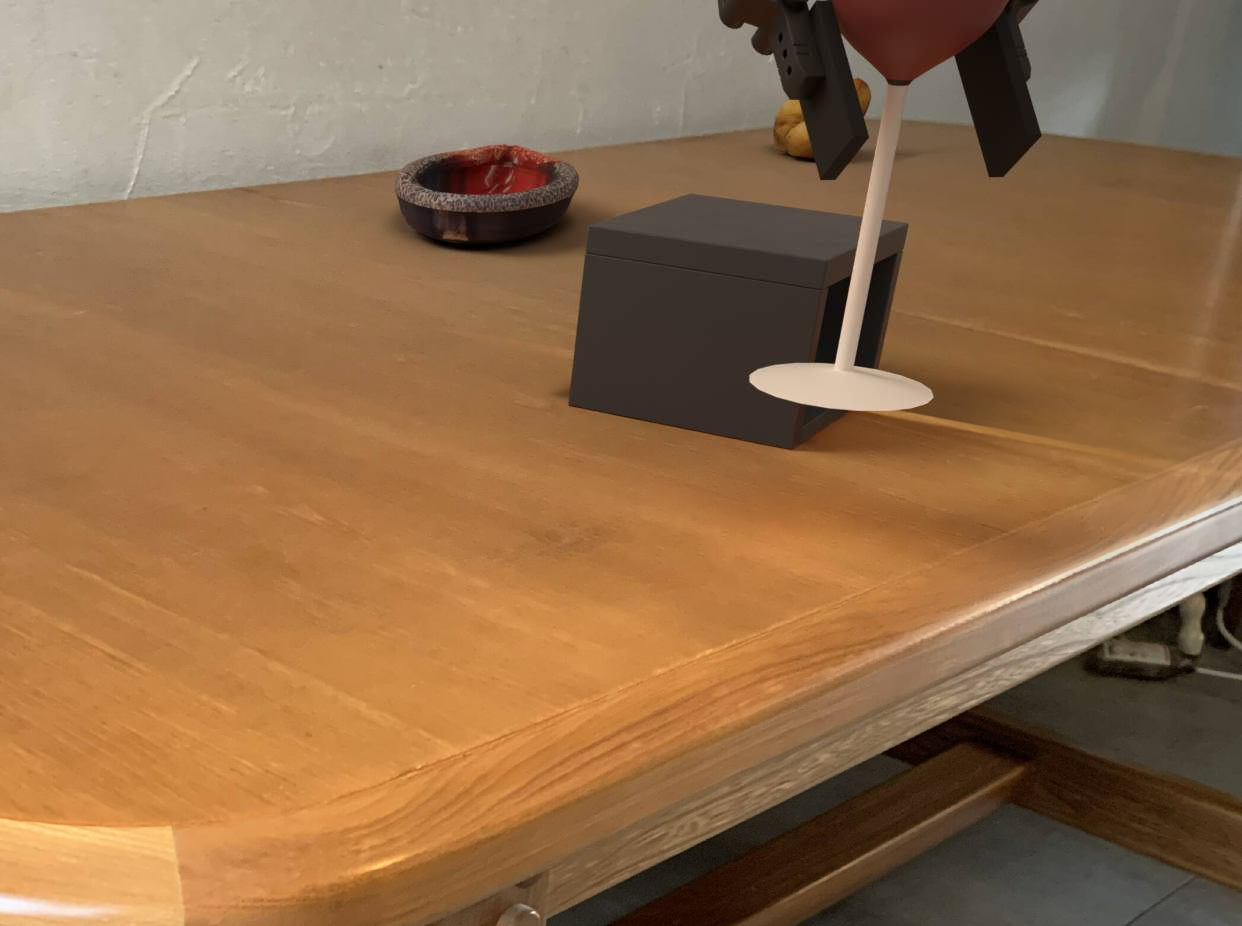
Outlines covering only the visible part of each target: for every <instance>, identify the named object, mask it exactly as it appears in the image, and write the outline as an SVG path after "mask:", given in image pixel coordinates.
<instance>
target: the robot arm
mask: <svg viewBox="0 0 1242 926" xmlns="http://www.w3.org/2000/svg"><path fill="white" fill-rule="evenodd" d="M808 2H809V0H717V9H718V17H719V20H720V21H721V23H722V24H723V25H724V26H725V27H727V28H728V29H731V30H738V29H740V28H742V27H743V26H744V24H747V25H750V26H753V27H756V28H757V29H756V30H755V31H754V33H753V35H752V36H751V38H750V44H751V46H752V49H754V51H755V52H756V53H758V54H760V55H762V56H766V57H767V56H772V55H773V57H774V61H775V65H776V68H777V72H778V76H779V77H780V78H779V79H780V84H781V88H782V91H783V92H784V93H785V95H786V97H787V99H788V100H789V99H790V100H799V102H800V106H801V110H802V114H803V117H804V121H805V125H806V129H807V132H808V136H809V140H810V144H811V147H812V151H813V155H814V158H813V159H814V162H815V165H816V166H815V167H816V169H817V173H818V177H819V181H836V180H837V179H838V178H839V176H841V174H842V173H843V172H844V170H845V169H846V168H847V166H848V165H849V164H850V163H851V161H852V160H853V159H854V157H855V156H856V155H857V154H858V152H859V151H860V150H861V148H862V147H864V145H865V144H866V142H867V141H868V140H869V139H870V135H869V131H868V128H867V124H866V120H865V116H863V113H862V109H861V105H860V102H859V98H858V94H857V91H856V87H855V84H854V80H853V79H854V76H853V73H852V69H851V65H850V62H849V58H848V55H847V51H846V47H845V44H844V40H843V35H842V34H841V32H840V29H839V25H838V22H837V18H836V14H835V11H834V7H833V3H832V1H830V0H815V1H814V3H813V4H812V6H811V7H810V8H809V4H808ZM1038 2H1040V0H1009V1H1008V3H1007V4H1006V6H1005V8H1004V9H1003V11H1002V13H1001V14H1000V15H999V17H998V18H997V19H996V21H995V22H994V23H993V25H992V26H991V27H990V28H989V29H988V30H987V31H986V32H985V33H984V34H983V35H981V36H980V37H979V38H978V39H977V40H976V41H975V42H973V43H972V44H970V45H969V46H968V47H966V48H965V49H963V50H962V51H961V52H959V53H958V54H956V55H955V56H953V57H954V60H955V64H956V67H957V70H958V74H959V77H960V82H961V84H962V88H963V91H964V94H965V98H966V102H967V105H968V109H969V112H970V115H971V120H972V122H973V127H974V130H975V133H976V137H977V141H978V143H979V147H980V150H981V155H982V158H983V161H984V165H985V168H986V172H987V175H988V178H1005V176H1006V175H1007V174H1008V173H1009V172H1010V171H1011V170H1012V169H1013V167H1015V166H1016V164H1018V163H1019V161H1020V160H1021V159H1022V158H1023V157H1024V156H1025V154H1027V153H1028V152H1029V150H1030V149H1031V148H1032V147H1034V145H1035V144H1036V143H1037V142H1038V141H1039V140H1040V138H1042V136H1043V134H1042V131H1041V128H1040V124H1039V121H1038V117H1037V114H1036V111H1035V107H1034V105H1033V101H1032V97H1031V93H1030V90H1029V88H1028V87H1029V86H1028V84H1027V83H1028V81H1029V80H1030V79H1031V76H1032V75H1031V74H1032V65H1031V62H1030V58H1029V56H1028V52H1027V48H1026V45H1025V42H1024V39H1023V35H1022V32H1021V28H1020V24H1021V23H1022V21H1023V20H1024V19H1025V18H1026V17H1027V16H1028V15H1029V13H1030V12H1031V11H1032V10H1033V9H1034V7H1035V6H1036V5H1037V4H1038Z"/></svg>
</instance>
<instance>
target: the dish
mask: <svg viewBox="0 0 1242 926" xmlns="http://www.w3.org/2000/svg"><path fill="white" fill-rule="evenodd" d="M393 184H394V185H393V187H394V188H393V189H394V193H395V195H396V198H397V202H398V205H399V210H400V212H401V214H402V217H403V218H404V220H405V222H406V223H407V225H408V226H409V227H410V228H411V229H413V230H414V231H416V232H417V233H420V234H422V235H424V236H426V237H428V238H431V239H433V240H438V241H441V242H447V243H452V244H453V243H454V244H465V245H466V244H467V245H484V244H485V245H487V244H497V243H498V244H499V243H505V242H512V241H517V240H523V239H526V238H530V237H532V236H535V235H538V234H540V233H542V232H544V231H546V230H548V229H550V228H551V227H553V226H555V225H556V224H558V223H559V221H561V219H562V218H563V216H564V215H565V213H566V212H567V210H568V209H569V207H570V205H571V202H572V200H573V197H574V195H575V193H576V192H577V190H578V188H579V184H580V175H579V173H578V171H577V169H576V168H575V166H574V165H572V164H570V163H569V162H567V161H564V160H562V159H559V158H557V157H553V156H550V155H547V154H545V153H541V152H539V151H536V150H533V149H530V148H527V147H524V146H520V145H517V144H513V145H508V144H504V143H503V144H490V145H484V146H483V145H482V146H478V147H473V148H467V149H459V150H455V151H454V150H453V151H447V152H441V153H435V154H431V155H427V156H423V157H421V158H417V159H416V160H412V161H411V162H409V163H407V164H405V165H404V166H403V167H402V168H401V169H400V171H398V173H397V175H396V176H395V178H394V182H393Z"/></svg>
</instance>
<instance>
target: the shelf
mask: <svg viewBox="0 0 1242 926" xmlns="http://www.w3.org/2000/svg"><path fill="white" fill-rule="evenodd" d="M862 219H863V216H859V215H852V214H845V213H837V212H829V211H822V210H815V209H809V208H808V209H807V208H800V207H792V206H786V205H778V204H773V203H772V204H771V203H764V202H756V201H749V200H743V199H742V200H741V199H735V198H734V199H733V198H728V197H727V198H726V197H720V196H712V195H706V194H705V195H704V194H699V193H698V194H697V193H688V194H685V195H681V196H678V197H675V198H671V199H668V200H665V201H662V202H659V203H655V204H653V205H649V206H646V207H643V208H639V209H636V210H633V211H630V212H626V213H624V214H621V215H618V216H615V217H614V216H613V217H611V218H608V219H603V220H601V221H598V222H595V223H591V224H588V227H587V237H586V244H585V253H584V262H583V270H582V279H581V287H580V297H579V306H578V315H577V323H576V331H575V341H574V351H573V359H572V368H571V376H570V386H569V394H568V406H572V407H577V408H581V409H587V410H591V411H596V412H601V413H607V414H612V415H616V416H622V417H627V418H631V419H638V420H642V421H647V422H651V423H657V424H661V425H667V426H671V427H675V428H676V427H678V428H680V429H681V428H682V429H687V430H692V431H697V432H703V433H707V434H712V435H716V436H721V437H727V438H732V439H736V440H742V441H746V442H751V443H757V444H762V445H765V446H773V447H776V448H782V449H787V450H793V449H795V448H796V447H798V446H799V445H801V444H802V443H804V442H805V441H807V440H808V439H810V438H812V437H813V436H814V435H816V434H817V433H819V432H821V431H822V430H823V429H824V428H826V427H828V426H829V425H830V424H832V423H834V422H835V421H837V420H838V419H839V418H841V417H843V416H844V415H845V414H847V413H848V412H850V411H851V410H844V409H832V408H825V407H819V406H813V405H807V404H801V403H797V402H793V401H789V400H786V399H782V398H778V397H775V396H773V395H770V394H768V393H766V392H763V391H761V390H759V389H757V388H756V387H755V386H754V385H753V384H751V383H750V374H752V373H753V372H755V371H756V370H758V369H761V368H765V367H769V366H772V365H780V364H791V363H827V364H835V362H836V356H837V351H838V346H839V340H840V335H841V330H842V325H843V319H844V314H845V309H846V303H847V298H848V293H849V288H850V282H851V277H852V272H853V266H854V261H855V256H856V251H857V245H858V240H859V235H860V230H861V224H862ZM909 226H910V225H909V223H908V222H903V221H895V220H888V219H882V223H881V229H880V234H879V239H878V244H877V249H876V254H875V259H874V264H873V269H872V275H871V280H870V285H869V290H868V295H867V300H866V305H865V310H864V315H863V321H862V326H861V331H860V336H859V341H858V346H857V351H856V356H855V362H854V366H858V367H864V368H871V369H877V370H879V367H880V362H881V358H882V353H883V348H884V344H885V338H886V334H887V329H888V325H889V320H890V316H891V310H892V305H893V301H894V297H895V292H896V287H897V282H898V278H899V272H900V268H901V264H902V263H901V262H902V259H903V254H904V249H905V244H906V239H907V235H908V230H909Z"/></svg>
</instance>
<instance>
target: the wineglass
mask: <svg viewBox="0 0 1242 926" xmlns="http://www.w3.org/2000/svg"><path fill="white" fill-rule="evenodd" d="M830 1H832V3H833V7H834V11H835V14H836V18H837V22H838V25H839V29H840V32H841V36H842V38H844V39H845V40H846V41H847V42H848V44H849V45H850V46H851V47H852V48H853V49H854V50H855V51H856V52H857V54H859V55H860V56H861V57H862V58H864V60H866V61H867V62H868V63H869V64H870V65H871V66H872V67H873V68H874V69H875V70H876V71H877V72H878V73H880V75H881V76H882V77H884V79H885V81H886V83H887V87H886V92H885V99H884V103H883V108H882V114H881V118H880V119H881V120H880V125H879V131H878V134H877V140H876V144H875V152H874V155H873V161H872V166H871V173H870V178H869V181H868V182H869V184H868V186H867V187H868V188H867V194H866V197H865V198H866V199H865V204H864V207H863V208H864V209H863V215H862V217H863V219H862V224H861V230H860V235H859V240H858V245H857V251H856V256H855V261H854V266H853V272H852V277H851V282H850V288H849V293H848V298H847V303H846V309H845V314H844V319H843V325H842V330H841V335H840V340H839V346H838V351H837V356H836V362H835V364H827V363H791V364H780V365H772V366H769V367H765V368H761V369H758V370H756V371H755V372H753V373H752V374H750V383H751V384H753V385H754V386H755V387H756V388H757V389H759V390H761V391H763V392H766V393H768V394H770V395H773V396H775V397H778V398H782V399H786V400H789V401H793V402H797V403H801V404H807V405H813V406H819V407H825V408H832V409H844V410H850V411H857V412H891V411H899V410H909V409H914V408H918V407H920V406H924V405H927V404H928V403H930V401H931V400H932V399H934V393H933V391H932V389H931V388H929V387H928V386H926V385H925V384H923V383H922V382H920V381H917V380H915V379H912V378H909V377H906V376H904V375H901V374H899V373H898V374H897V373H893V372H889V371H885V370H882V369H878V370H877V369H871V368H864V367H858V366H854V362H855V356H856V351H857V346H858V341H859V336H860V331H861V326H862V321H863V315H864V310H865V305H866V300H867V295H868V290H869V285H870V280H871V275H872V269H873V264H874V259H875V254H876V249H877V244H878V239H879V234H880V229H881V223H882V220H883V219H884V214H885V208H886V202H887V197H888V191H889V186H890V183H891V176H892V172H893V166H894V161H895V155H896V152H897V147H898V141H899V136H900V131H901V126H902V120H903V115H904V111H905V105H906V99H907V95H908V90H909V86H910V84H911V83H912V82H914V80H916V79H918V78H919V77H921V76H923V75H924V74H925V73H928V71H930V70H932V69H934V68H936V67H937V66H940V65H941V64H943V63H944V62H946V61H948V60H949V59H951V58H953V57H954V56H955V55H956V54H958V53H959V52H961V51H962V50H963V49H965V48H966V47H968V46H969V45H970V44H972V43H973V42H975V41H976V40H977V39H978V38H979V37H980V36H981V35H983V34H984V33H985V32H986V31H987V30H988V29H989V28H990V27H991V26H992V25H993V23H994V22H995V21H996V19H997V18H998V17H999V15H1000V14H1001V13H1002V11H1003V9H1004V8H1005V6H1006V4H1007V3H1008V1H1009V0H830Z"/></svg>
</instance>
